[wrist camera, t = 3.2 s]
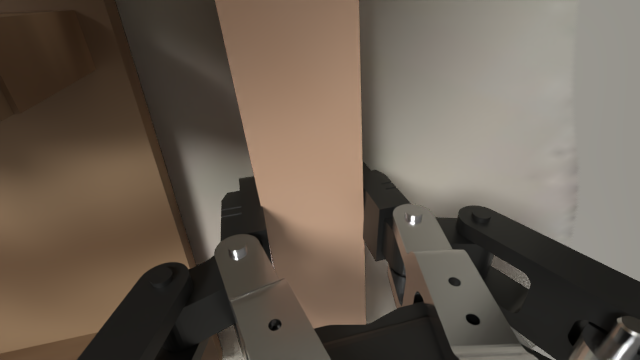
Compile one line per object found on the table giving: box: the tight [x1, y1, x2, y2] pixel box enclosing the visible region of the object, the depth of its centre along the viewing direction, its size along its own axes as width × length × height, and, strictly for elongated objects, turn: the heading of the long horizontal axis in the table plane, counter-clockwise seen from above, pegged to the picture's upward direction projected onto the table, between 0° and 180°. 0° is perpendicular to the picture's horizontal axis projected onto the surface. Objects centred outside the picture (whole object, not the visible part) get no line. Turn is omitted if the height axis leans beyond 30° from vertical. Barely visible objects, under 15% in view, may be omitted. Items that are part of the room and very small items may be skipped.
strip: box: [215, 0, 366, 329], centre depth 13 cm, size 18×4×3 cm, turn 5°
